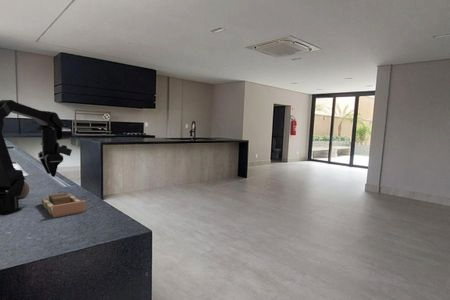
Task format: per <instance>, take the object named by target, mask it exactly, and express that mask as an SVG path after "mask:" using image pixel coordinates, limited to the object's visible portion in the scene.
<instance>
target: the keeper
mask: <svg viewBox="0 0 450 300" xmlns="http://www.w3.org/2000/svg"><path fill="white" fill-rule="evenodd" d="M68 194H69V193H66V192H59V193H52V194H48V200H49V201H50V202H51V203H52V204H53V205H60V204H66V203H70V196H69V195H68Z"/></svg>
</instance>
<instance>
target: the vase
mask: <svg viewBox="0 0 450 300" xmlns="http://www.w3.org/2000/svg"><path fill="white" fill-rule="evenodd" d="M29 194H30V186H29V184H28V182H27V181H25V185H24V186H23V189H22V193H21V195H20V196H17V197H18V200H19V199H20V200H21V199H24V198H27V197H28V195H29Z"/></svg>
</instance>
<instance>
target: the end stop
mask: <svg viewBox="0 0 450 300" xmlns="http://www.w3.org/2000/svg"><path fill="white" fill-rule="evenodd" d="M52 210H53V216H52V218H58V217H59V218H60V217H63V216H68V215H73V214H74V215H75V214H77V213H78V214H79V213H83V212H84V213H85V212H87V201H86V200H85V199H83V200H80V201H77V202H71V203H66V204H60V205H54V206H52Z"/></svg>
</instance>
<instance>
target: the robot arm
mask: <svg viewBox="0 0 450 300" xmlns="http://www.w3.org/2000/svg"><path fill="white" fill-rule="evenodd" d="M11 113H13V114H16V115H19V116H23V117H26V118H29V119H32V120H34V121H35V123H37V124H40V125H39V126H38V127H37V128H36V131H41V142H40V145H41V149H42V150H41V151H39V152H38V153H37V156H38V157H37V158H39V161H40V163H41V165H42V166H43V168H44V170H45V172H46V174H48V175H49V174H50V176H51V178H54V177H56V174H57V171H58V166H59V165H60V164H61V163H63V161H64V156H63V155H65V156H68V157H71V154H72V151H73V149H71V148H68V146H67V145H64V144H62V145H61V146H60V143H59V142H58V140H59V141H62V140H69V139H71V138H72V137H73V131H72V130H71V128H70V127H69V125H68V124H64V123H63V121H62V120H61V118H60V116H59V115H58V113H57V112H55V111H48V110H47V111H46V110H41V109H37V108H34V107H32V106H28V105H26V104H25V105H24V104H23V103H19V102H17V101H15V100H12V99H1V100H0V215H9V214H13V213H15V212H18V211H21V210H22V209H23V208H22V207H20V205H19V199H18V197H17V196H20V195H21V193H22V189H23V186H24V185H25V182H26V181H25V180H26V177H25V176H24V172H23V171H24V170H22V169H17V168H15V166H14V164H13V161H12V159H11V158H12V157H11V155H10V152H9V149H8V146H7V143H6V140H5V138H4V135H3V127H4V125H5V122H4V119H5V118H7V117H8V116H10V114H11Z"/></svg>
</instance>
